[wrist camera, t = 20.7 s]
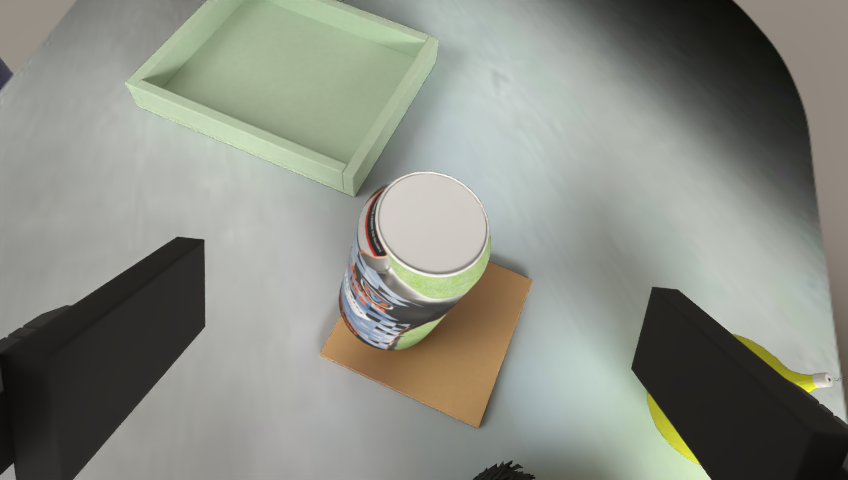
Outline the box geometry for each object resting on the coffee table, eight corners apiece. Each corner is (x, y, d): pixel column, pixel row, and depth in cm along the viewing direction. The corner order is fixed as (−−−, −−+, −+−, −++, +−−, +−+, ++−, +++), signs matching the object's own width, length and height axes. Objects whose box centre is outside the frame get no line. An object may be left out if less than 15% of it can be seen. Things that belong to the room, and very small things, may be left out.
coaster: (320, 355, 31) (319, 354, 31) (392, 223, 35) (392, 220, 35) (477, 428, 30) (478, 427, 29) (531, 281, 34) (532, 279, 34)
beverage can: (351, 256, 34) (340, 136, 23) (464, 273, 34) (505, 162, 23) (330, 351, 31) (307, 264, 20) (454, 370, 31) (496, 293, 20)
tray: (137, 106, 38) (123, 82, 36) (247, -9, 45) (241, -36, 43) (354, 197, 36) (353, 177, 34) (436, 62, 43) (439, 38, 41)
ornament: (768, 431, 31) (925, 397, 22) (686, 504, 29) (824, 498, 20) (682, 332, 34) (792, 265, 25) (601, 391, 31) (690, 341, 22)
